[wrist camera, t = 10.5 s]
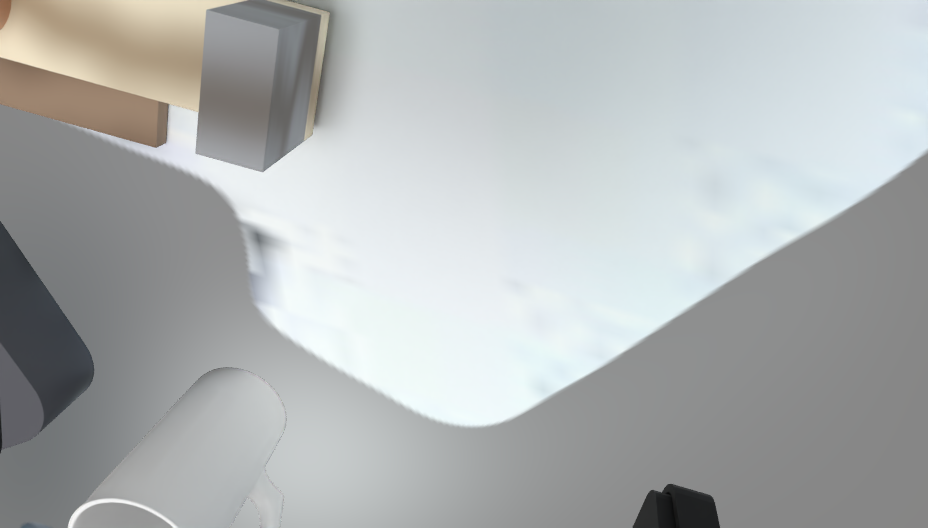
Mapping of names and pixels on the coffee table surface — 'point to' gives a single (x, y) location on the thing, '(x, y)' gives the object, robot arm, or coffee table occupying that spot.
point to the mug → (198, 461)
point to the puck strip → (190, 62)
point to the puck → (4, 12)
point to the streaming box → (34, 351)
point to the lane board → (83, 103)
